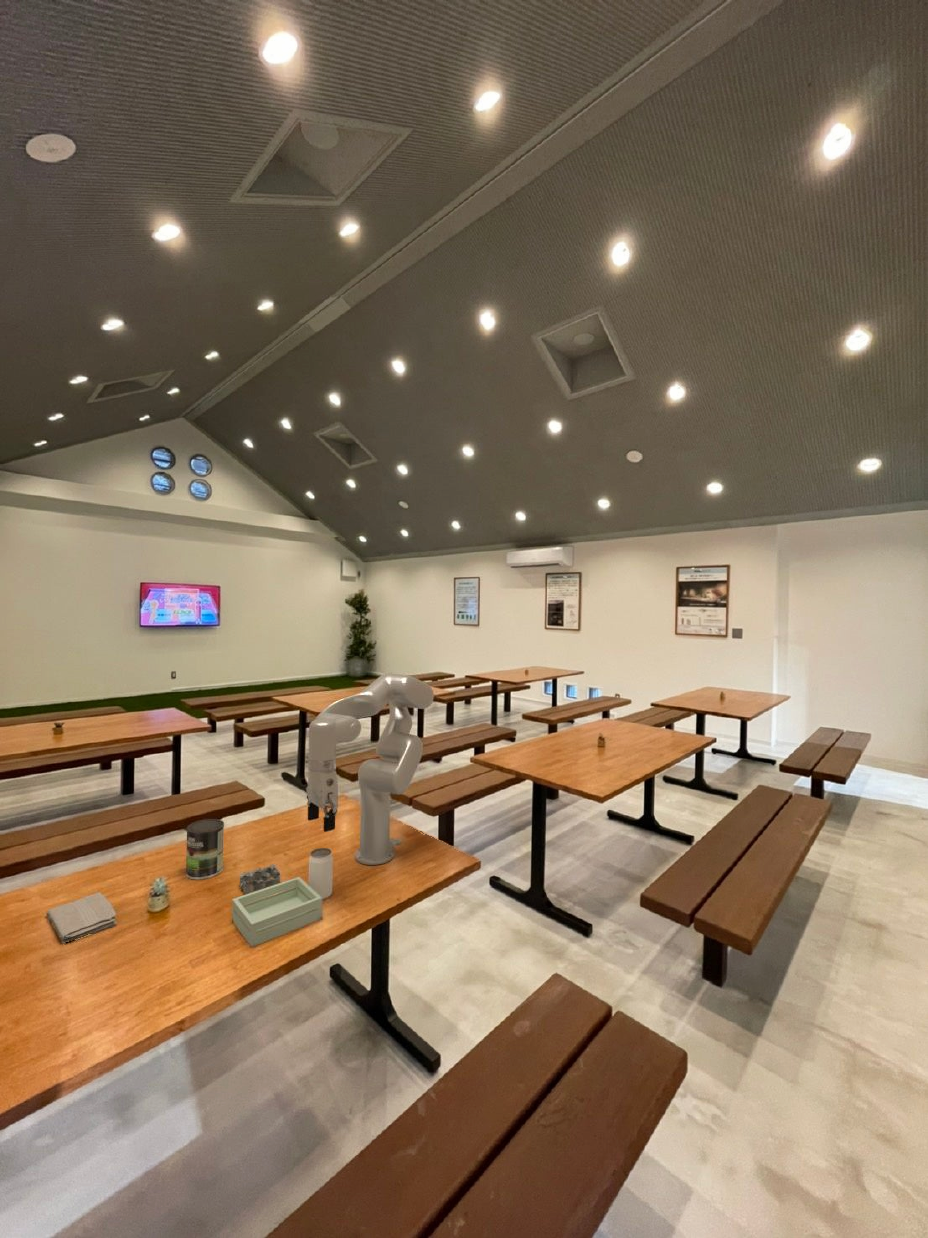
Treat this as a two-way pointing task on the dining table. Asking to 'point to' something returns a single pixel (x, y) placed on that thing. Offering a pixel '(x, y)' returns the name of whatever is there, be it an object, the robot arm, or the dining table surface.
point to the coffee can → (204, 849)
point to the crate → (276, 910)
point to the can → (321, 872)
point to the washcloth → (82, 917)
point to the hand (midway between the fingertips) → (321, 824)
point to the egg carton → (262, 875)
